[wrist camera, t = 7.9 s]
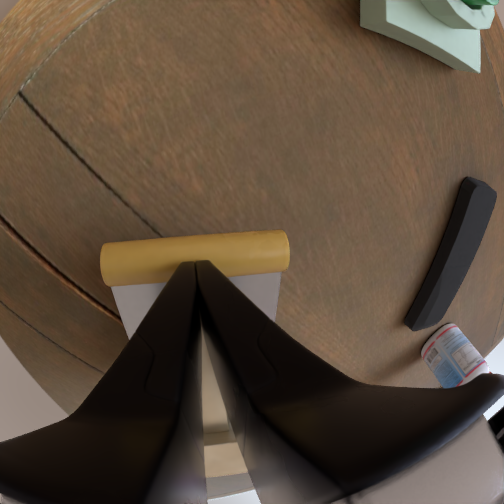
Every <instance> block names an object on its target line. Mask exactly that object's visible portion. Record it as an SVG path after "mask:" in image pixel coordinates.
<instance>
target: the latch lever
mask: <svg viewBox="0 0 504 504" xmlns="http://www.w3.org/2000/svg"><path fill="white" fill-rule="evenodd" d="M197 260H209V261H211V262H212V263H213V264H214V265H215V266H216V267H217V268H218V269H219V270H220V271H221V272H222V273H223V274H224V275H225V276H226V277H236V276H246V275H256V274H266V273H276V272H284V271H286V270H287V268H288V266H289V261H290V248H289V242H288V238H287V236H286V234H285V232H284V231H283V230H281V229H278V230H262V231H246V232H232V233H218V234H204V235H191V236H179V237H166V238H154V239H143V240H132V241H121V242H110V243H105V244H103V246H102V248H101V253H100V269H101V274H102V278H103V281H104V283H105V284H106V285H107V286H109V287H113V286H128V285H141V284H155V283H167V282H168V280H169V279H170V277H171V276H172V274H173V273H174V272H175V270H176V269H177V267H178V266H179V264H180V263H181V262H185V261H194V262H196V261H197ZM195 268H196V267H195ZM200 318H201V317H200ZM201 327H202V325H201ZM202 408H203V439H204V460H205V463H204V464H205V476H206V477H216V476H225V475H232V474H239V473H245V472H248V470H247V467H246V465H245V462H244V458H243V457H242V454H241V451H240V449H239V446H238V443H237V440H236V438H235V435H234V432H233V429H232V426H231V423H230V421H229V418H228V415H227V412H226V409H225V406H224V403H223V399H222V396H221V393H220V390H219V387H218V384H217V380H216V377H215V374H214V371H213V367H212V364H211V360H210V357H209V353H208V350H207V346H206V343H205V339H204V335H203V331H202Z"/></svg>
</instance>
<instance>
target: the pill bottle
mask: <svg viewBox="0 0 504 504" xmlns="http://www.w3.org/2000/svg"><path fill="white" fill-rule="evenodd" d="M421 356H422V358H423V359H424V361H425V362H426V363H427V365H428V366H429V368H430V369H431V371H432V372H433V373H434V375H435V376H436V378H437V379H438V381H439V382H440V384H441V385H442V387H443V388H451V387H457V386H460V385H464V384H466V383H468V382H469V381H471V380H472V379H474V378H475V377H476V376H478V375H479V374H481V373H489V366H488V364H487V363H486V361H485V360H484V359H483V357H482V356H481V355H480V354H479V352H478V351H477V350H476V349H475V347H474V346H473V345H472V344H471V343H470V341H469V340H468V339H467V338H466V337H465V335H464V334H463V333H462V332H461V331H460V329H459V328H458V327H457V326H456V325H455V324H447V325H444V326H443V327H441V328H440V329H439V330H438V331H436V332H435V333H434V334H433V335H432V336H431V337H430V338H429V340H428V341H427V342H426V344H425V345H424V347H423V348H422V351H421Z"/></svg>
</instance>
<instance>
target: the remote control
mask: <svg viewBox="0 0 504 504" xmlns="http://www.w3.org/2000/svg"><path fill="white" fill-rule="evenodd" d="M496 198H497V193H496V191H494V190H493V189H492V188H491V187H490V186H489V185H487V184H486V183H485V182H482V181H479V180H477V179H474V178H471V177H468V178H466V179H465V180H464V181H463V183H462V185H461V188H460V192H459V195H458V198H457V201H456V204H455V208H454V210H453V213H452V216H451V219H450V222H449V225H448V227H447V230H446V233H445V235H444V238H443V241H442V243H441V246H440V248H439V250H438V253H437V255H436V258H435V260H434V262H433V264H432V267H431V269H430V271H429V273H428V276H427V278H426V280H425V282H424V284H423V286H422V288H421V290H420V292H419V294H418V296H417V298H416V300H415V302H414V304H413V306H412V308H411V310H410V312H409V313H408V315H407V317H406V319H405V322H404V323H405V325H406V326H408V327H409V328H410V329H411V330H412V331H418V330H421V329H424V328H427V327H431V326H434V325H435V324H437V323H438V322H439V321H440V320H441V319H442V318H443V316H444V315H445V313H446V311H447V309H448V307H449V306H450V304H451V302H452V300H453V299H454V297H455V295H456V293H457V291H458V289H459V287H460V285H461V284H462V282H463V280H464V278H465V276H466V274H467V272H468V269H469V267H470V265H471V263H472V261H473V259H474V257H475V254H476V252H477V250H478V247H479V245H480V243H481V240H482V238H483V235H484V233H485V230H486V228H487V225H488V222H489V220H490V217H491V214H492V211H493V208H494V205H495V202H496Z"/></svg>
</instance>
